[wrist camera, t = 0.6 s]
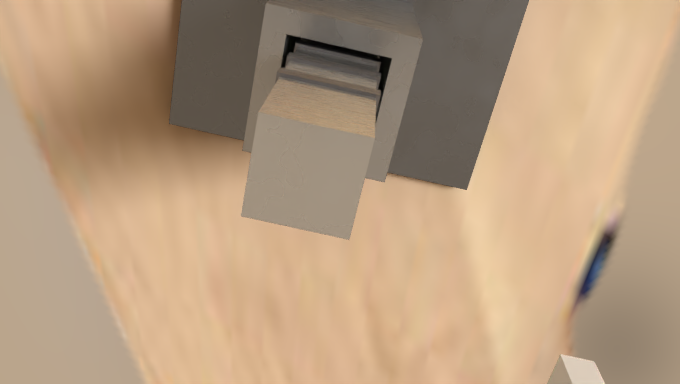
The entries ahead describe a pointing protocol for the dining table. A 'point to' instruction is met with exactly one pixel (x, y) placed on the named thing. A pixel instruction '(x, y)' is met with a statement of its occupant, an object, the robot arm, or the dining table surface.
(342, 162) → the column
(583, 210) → the dining table surface
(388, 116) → the stand
